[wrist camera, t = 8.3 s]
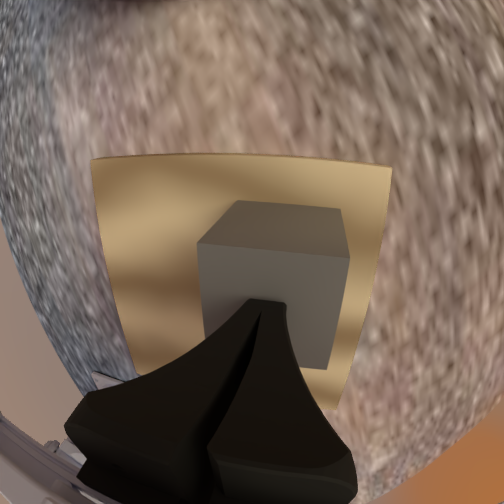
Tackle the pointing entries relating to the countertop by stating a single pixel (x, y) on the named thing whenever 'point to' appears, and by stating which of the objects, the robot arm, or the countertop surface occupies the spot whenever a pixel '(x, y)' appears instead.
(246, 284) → the grey cube
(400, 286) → the countertop surface
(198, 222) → the board
